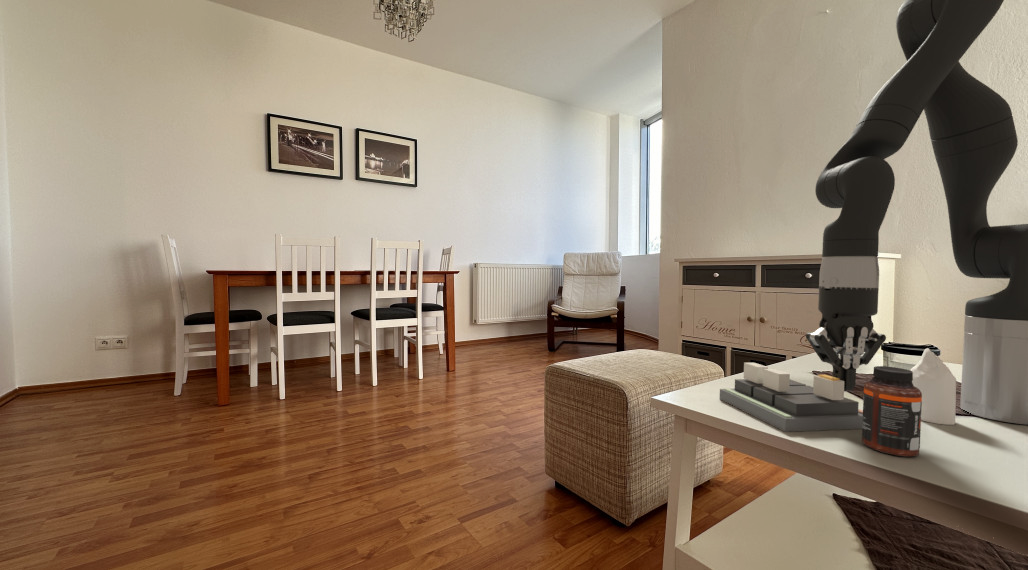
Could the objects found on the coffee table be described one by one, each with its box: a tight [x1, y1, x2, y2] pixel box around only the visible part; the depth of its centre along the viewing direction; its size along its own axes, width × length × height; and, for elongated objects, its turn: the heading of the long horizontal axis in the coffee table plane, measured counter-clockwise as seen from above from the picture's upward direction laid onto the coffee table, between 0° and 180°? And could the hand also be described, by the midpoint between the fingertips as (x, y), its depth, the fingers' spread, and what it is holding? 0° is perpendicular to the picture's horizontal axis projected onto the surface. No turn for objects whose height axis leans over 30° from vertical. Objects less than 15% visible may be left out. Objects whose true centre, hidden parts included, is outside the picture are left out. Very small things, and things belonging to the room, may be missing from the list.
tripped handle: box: [812, 373, 845, 400], centre depth 66 cm, size 2×4×3 cm, turn 7°
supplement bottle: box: [861, 365, 922, 458], centre depth 56 cm, size 6×6×11 cm
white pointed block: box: [909, 347, 957, 426], centre depth 69 cm, size 6×12×6 cm
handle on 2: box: [763, 368, 791, 392], centre depth 71 cm, size 2×4×3 cm, turn 7°
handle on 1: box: [743, 362, 769, 383], centre depth 76 cm, size 2×4×3 cm, turn 7°
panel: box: [719, 378, 863, 433], centre depth 71 cm, size 16×16×4 cm
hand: (843, 389), depth 67 cm, fingers closed
